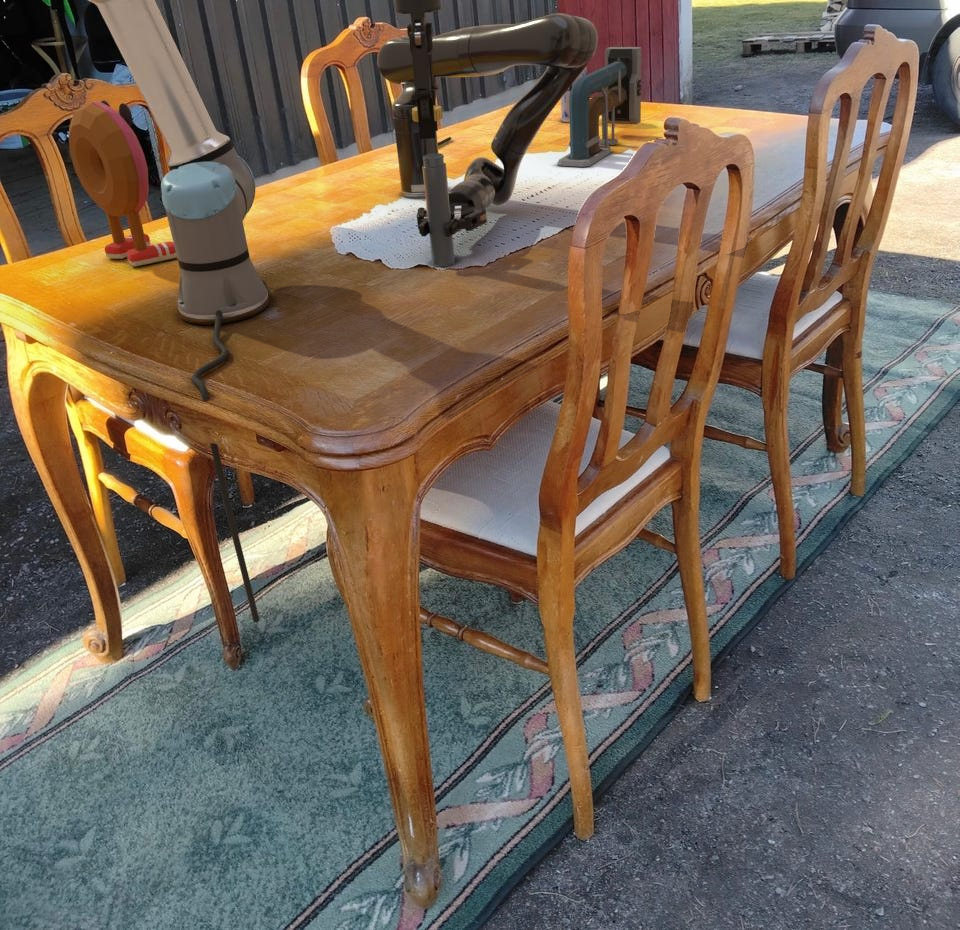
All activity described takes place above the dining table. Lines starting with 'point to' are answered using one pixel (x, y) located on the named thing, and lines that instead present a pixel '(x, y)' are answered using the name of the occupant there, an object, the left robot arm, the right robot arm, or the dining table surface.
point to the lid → (437, 113)
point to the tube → (438, 209)
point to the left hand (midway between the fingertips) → (428, 134)
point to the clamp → (603, 105)
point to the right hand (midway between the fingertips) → (435, 231)
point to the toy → (115, 178)
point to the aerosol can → (565, 99)
